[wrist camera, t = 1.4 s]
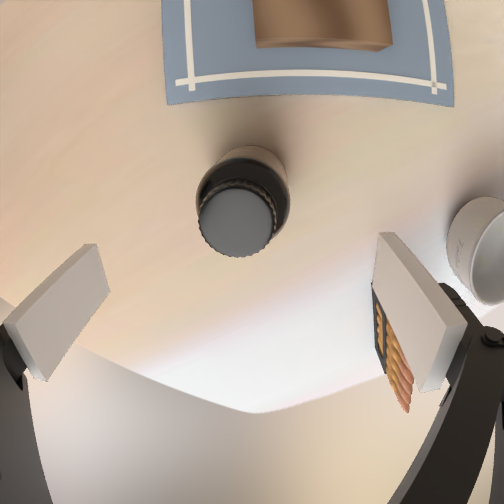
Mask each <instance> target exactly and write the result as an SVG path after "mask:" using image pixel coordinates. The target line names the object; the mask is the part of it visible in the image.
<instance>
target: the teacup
mask: <svg viewBox="0 0 504 504" xmlns="http://www.w3.org/2000/svg"><path fill="white" fill-rule="evenodd" d="M446 249H447V258H448V261H449V264H450V267H451V269H452V271H453V272H454V274H455V275H456V276H457V278H458V279H459V280H460V281H461V282H462V283H463V284H464V285H465V287H466V288H467V289H468V290H469V291H471V292H472V294H473V295H474V297H475V298H476V299H477V300H478V301H479V302H481V303H483V304H484V305H491V306H492V305H497V304H500V303H502V302H504V201H503V200H500V199H497V198H494V197H479V198H476V199H474V200H472V201H470V202H468V203H467V204H466V205H465V206H463V207H462V208H461V209H460V211H459V212H458V213H457V215H456V216H455V218H454V220H453V222H452V224H451V226H450V229H449V232H448V237H447V246H446Z"/></svg>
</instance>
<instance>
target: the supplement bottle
mask: <svg viewBox="0 0 504 504" xmlns="http://www.w3.org/2000/svg"><path fill="white" fill-rule="evenodd" d="M196 211H197V215H198V218H199V220H198V223H199V225H200V226H199V229H200V231H201V234H202V236H203V237H204V238H205V241H206V242H207V243H208V244H209V245H210V247H211V248H214V249H215V251H217V252H220V253H221V254H223V255H227V256H229V257H232V256H234V257H237V258H238V257H246V256H252V255H253V254H254V253H258V252H259V251H260V250H262V249H264V248H265V245H267V244H269V242H270V240H271V239H273V238H274V237H275V236H276V235H277V234H278V233H279V232H280V231H281V230H282V228H283V227H284V225H285V223H286V221H287V218H288V215H289V211H290V195H289V189H288V183H287V178H286V173H285V170H284V167H283V165H282V164H281V162H280V160H279V159H278V158H277V157H276V156H275V155H274V154H273V153H272V152H270V151H269V150H267V149H265V148H262V147H259V146H254V145H246V146H240V147H237V148H235V149H233V150H231V151H229V152H228V153H226V154H225V155H224V156H223V157H222V158H221V159H220V160H219V161H218V162H217V163H216V164H215V165H213V166H212V167H211V168H210V169H209V170H208V172H207V173H206V174H205V175H204V177H203V178H202V180H201V182H200V184H199V186H198V189H197V193H196Z"/></svg>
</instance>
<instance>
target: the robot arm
mask: <svg viewBox="0 0 504 504" xmlns="http://www.w3.org/2000/svg"><path fill="white" fill-rule="evenodd" d="M372 288H373V290H374V292H375V294H376V296H377V298H378V300H379V302H380V304H381V306H382V308H383V310H384V312H385V314H386V316H387V318H388V320H389V323H390V325H391V327H392V329H393V331H394V333H395V336H396V338H397V340H398V342H399V344H400V347H401V349H402V351H403V353H404V356H405V358H406V360H407V363H408V365H409V367H410V370H411V372H412V374H413V377H414V379H415V382H416V384H417V387H418V389H419V391H420V393H423V392H428V391H433V390H438V389H440V387H441V385H442V383H443V381H444V379H445V377H446V378H447V380H448V382H449V384H450V386H449V388H448V390H447V392H446V394H445V396H444V398H443V400H442V401H441V403H440V405H439V406H440V409H439V411H438V414H437V416H436V418H435V420H434V422H433V424H432V426H431V428H430V431H429V433H428V435H427V437H426V439H425V441H424V443H423V444H422V446H421V449H420V450H419V452H418V454H417V456H416V458H415V459H414V461H413V463H412V465H411V467H410V468H409V470H408V472H407V473H406V475H405V477H404V479H403V480H402V482H401V483H400V485H399V486H398V488H397V490H396V491H395V493H394V494H393V496H392V497H391V499H390V500H389V502H388V503H387V504H467V502H468V499H469V497H470V495H471V493H472V490H473V488H474V485H475V483H476V480H477V478H478V475H479V472H480V470H481V467H482V464H483V461H484V458H485V455H486V452H487V449H488V446H489V442H490V439H491V435H492V432H493V428H494V425H495V454H494V468H493V477H492V486H491V493H490V500H489V504H504V334H503V333H502V332H501V331H500V330H498V329H496V328H494V327H489V326H483V325H482V324H481V323H480V321H479V320H478V319H477V317H476V316H475V315H474V314H473V312H472V311H471V310H470V308H469V307H468V306H466V303H465V302H464V301H463V300H462V299H461V297H460V296H459V295H458V293H457V292H456V291H455V290H454V289H453V288H451V287H450V286H448V285H447V284H445V283H437V282H436V281H435V279H434V278H433V277H432V276H431V275H430V273H429V272H428V271H427V270H426V268H425V267H424V266H423V265H422V264H421V262H420V261H419V260H418V259H417V258H416V257H415V255H414V254H413V253H412V252H411V251H410V250H409V248H408V247H407V246H406V245H405V244H404V243H403V242H402V240H401V239H400V238H399V237H398V236H397V235H396V234H395V233H394V232H381V233H378V243H377V252H376V261H375V269H374V276H373V284H372ZM109 293H110V289H109V286H108V283H107V279H106V276H105V272H104V269H103V265H102V262H101V258H100V254H99V251H98V247H97V244H84V245H83V246H82V247H81V248H80V249H79V250H77V251H76V252H75V253H74V254H73V255H72V256H70V257H69V258H68V259H67V260H66V261H65V262H64V263H63V264H61V265H60V266H59V267H58V268H57V269H56V270H55V271H54V272H53V273H52V274H51V275H49V276H48V277H47V278H46V279H45V280H44V281H43V282H42V283H41V284H40V285H39V286H38V287H37V288H36V289H35V290H34V291H33V292H32V293H31V294H30V295H29V296H27V297H26V298H25V299H24V300H23V301H22V302H21V303H20V304H19V305H18V306H17V307H16V309H15V310H14V311H13V312H12V313H11V314H10V315H9V316H8V317H7V318H6V319H5V320H4V321H3V324H2V325H1V326H0V504H53V502H52V499H51V496H50V493H49V490H48V487H47V483H46V480H45V476H44V472H43V469H42V465H41V460H40V456H39V452H38V448H37V442H36V437H35V432H34V427H33V421H32V415H31V408H30V401H29V392H28V383H27V378H26V376H25V375H24V373H23V372H24V371H25V369H26V368H28V370H29V371H30V373H31V375H32V376H33V378H35V379H38V380H41V381H45V382H47V380H48V379H49V377H50V376H51V375H52V373H53V372H54V370H55V369H56V367H57V366H58V364H59V363H60V361H61V360H62V358H63V356H64V355H65V354H66V352H67V351H68V349H69V348H70V346H71V345H72V344H73V342H74V341H75V339H76V338H77V336H78V335H79V334H80V332H81V331H82V329H83V328H84V327H85V325H86V324H87V323H88V321H89V320H90V318H91V317H92V316H93V314H94V313H95V312H96V310H97V309H98V308H99V306H100V305H101V304H102V302H103V301H104V300H105V298H106V297H107V296H108V294H109Z"/></svg>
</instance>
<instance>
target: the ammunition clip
mask: <svg viewBox="0 0 504 504" xmlns="http://www.w3.org/2000/svg"><path fill="white" fill-rule="evenodd" d="M372 284H373V282H372V283H371V285H372ZM372 298H373V313H374V333H375V349H376V351H377V354H378V357H379V359H380V362H381V365H382V368H383V370H384V373H385V374H387V376H388V379H389V382H390V384H391V387H392V388H393V390H394V392H395V394H396V396H397V399H398V401H399V403H400V405H401V407H402V408H403V410H404V411H405V412H406V413H408V412H409V404H410V402H411V394H412V384H413V383H414V377H413V374H412V372H411V370H410V367H409V365H408V363H407V360H406V358H405V356H404V353H403V351H402V349H401V347H400V344H399V342H398V340H397V338H396V336H395V333H394V331H393V329H392V327H391V325H390V323H389V320H388V318H387V316H386V314H385V312H384V310H383V308H382V306H381V304H380V302H379V300H378V298H377V296H376V294H375V292H374V290H373V288H372Z"/></svg>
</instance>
